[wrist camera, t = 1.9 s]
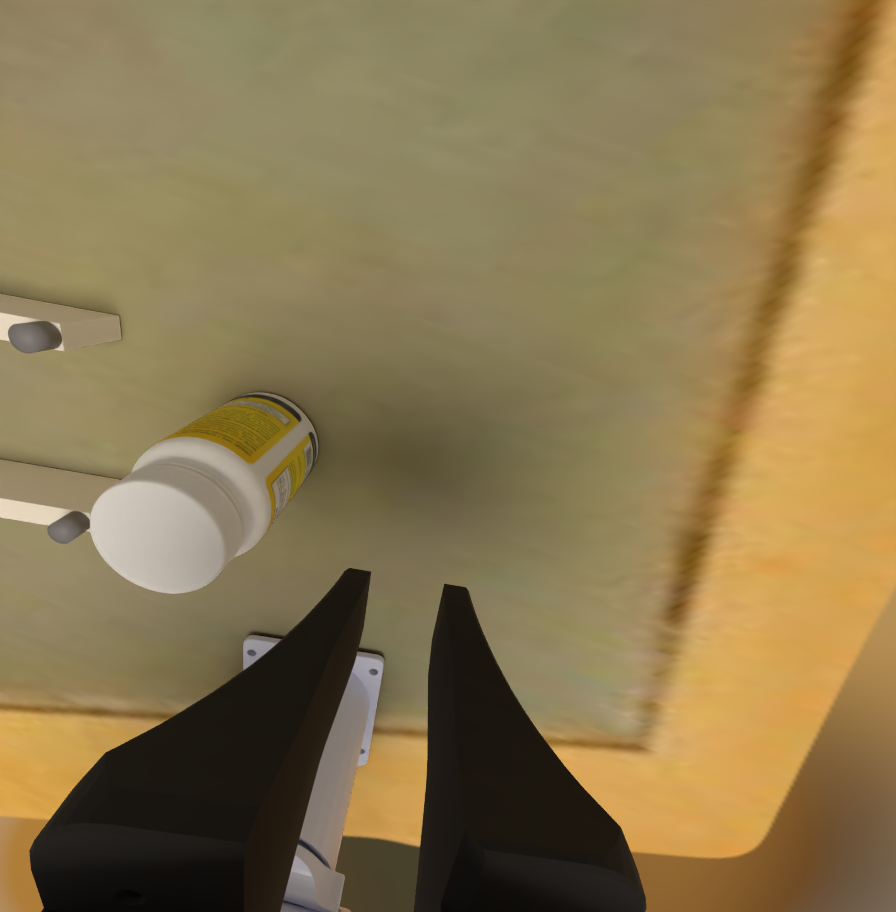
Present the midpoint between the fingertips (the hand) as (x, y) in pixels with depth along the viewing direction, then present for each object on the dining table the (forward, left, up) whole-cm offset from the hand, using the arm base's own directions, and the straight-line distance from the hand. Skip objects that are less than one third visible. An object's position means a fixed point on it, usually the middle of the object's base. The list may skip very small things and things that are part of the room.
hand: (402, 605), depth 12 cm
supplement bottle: (0, +8, -10) cm, 12 cm away
